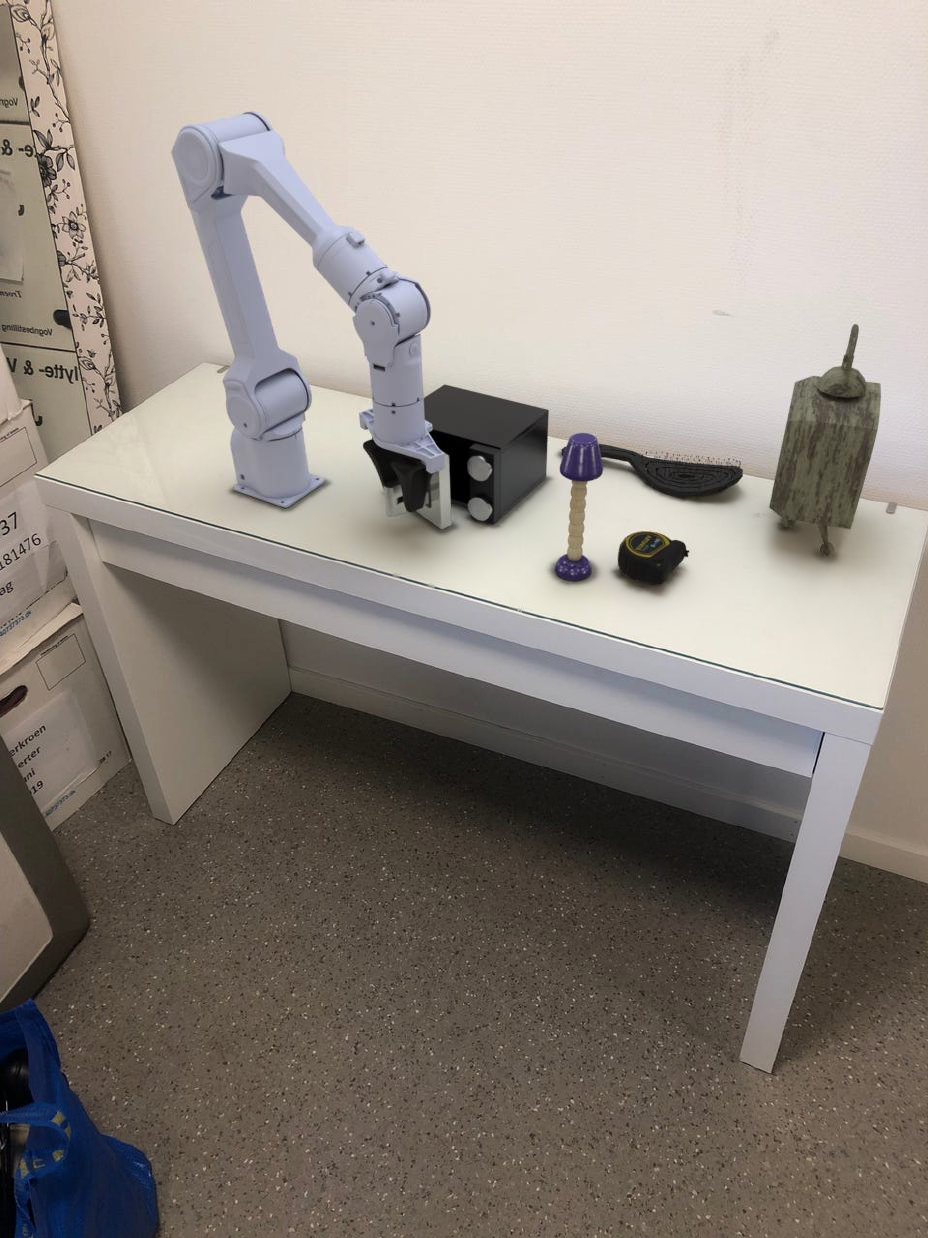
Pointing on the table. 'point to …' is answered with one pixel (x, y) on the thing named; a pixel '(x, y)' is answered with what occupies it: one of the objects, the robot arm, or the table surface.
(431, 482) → the microwave door
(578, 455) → the toy lamp
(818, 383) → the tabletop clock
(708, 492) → the hairbrush
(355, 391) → the table surface
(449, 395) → the microwave
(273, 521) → the table surface
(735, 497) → the table surface
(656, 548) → the tape measure
